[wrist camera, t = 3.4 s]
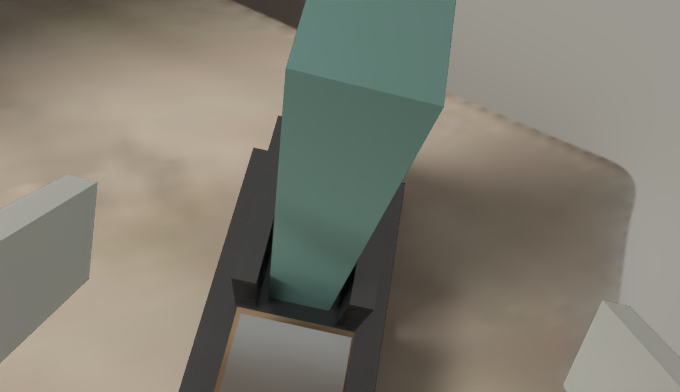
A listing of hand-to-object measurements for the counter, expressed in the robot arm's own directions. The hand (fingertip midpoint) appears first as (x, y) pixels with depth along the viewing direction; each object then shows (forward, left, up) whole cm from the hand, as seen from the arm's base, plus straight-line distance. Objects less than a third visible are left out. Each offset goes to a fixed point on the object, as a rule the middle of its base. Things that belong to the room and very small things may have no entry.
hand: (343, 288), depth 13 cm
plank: (-4, +6, -16) cm, 17 cm away
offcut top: (+1, -3, -13) cm, 13 cm away
